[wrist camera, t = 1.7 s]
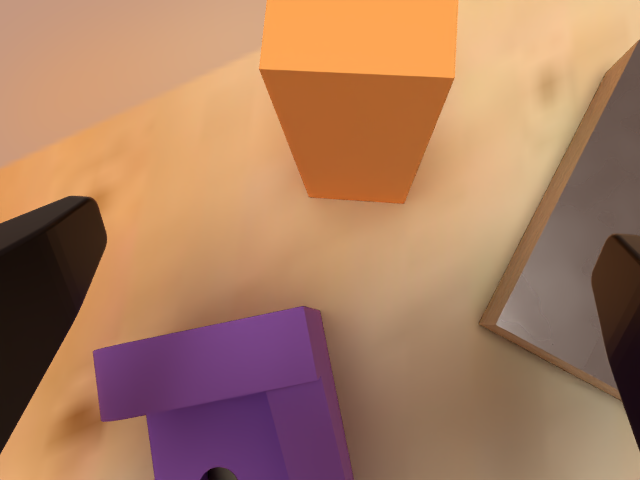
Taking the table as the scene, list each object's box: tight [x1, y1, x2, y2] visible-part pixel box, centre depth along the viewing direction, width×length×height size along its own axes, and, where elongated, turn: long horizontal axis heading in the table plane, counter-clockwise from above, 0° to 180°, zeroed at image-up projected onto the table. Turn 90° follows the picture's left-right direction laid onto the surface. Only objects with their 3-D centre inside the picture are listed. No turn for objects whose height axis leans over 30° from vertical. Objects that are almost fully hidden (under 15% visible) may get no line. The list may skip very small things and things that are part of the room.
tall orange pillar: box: [259, 0, 458, 204], centre depth 16 cm, size 4×4×11 cm
